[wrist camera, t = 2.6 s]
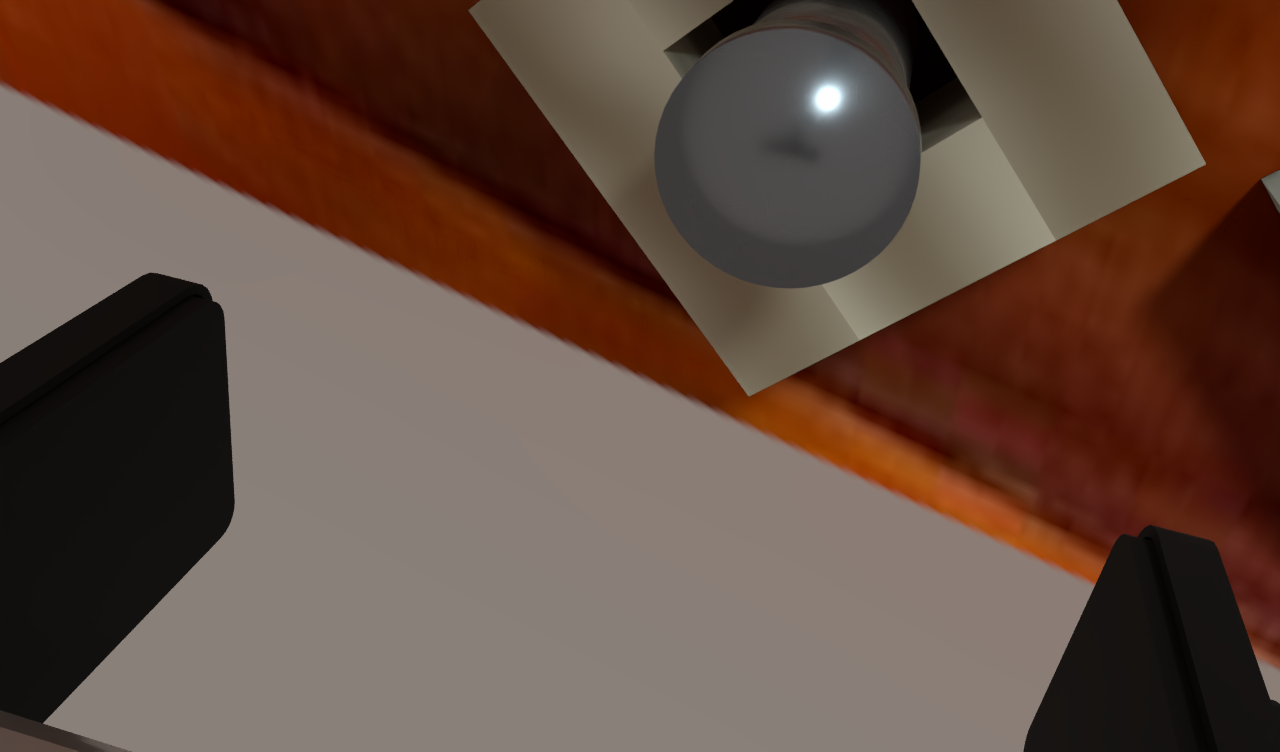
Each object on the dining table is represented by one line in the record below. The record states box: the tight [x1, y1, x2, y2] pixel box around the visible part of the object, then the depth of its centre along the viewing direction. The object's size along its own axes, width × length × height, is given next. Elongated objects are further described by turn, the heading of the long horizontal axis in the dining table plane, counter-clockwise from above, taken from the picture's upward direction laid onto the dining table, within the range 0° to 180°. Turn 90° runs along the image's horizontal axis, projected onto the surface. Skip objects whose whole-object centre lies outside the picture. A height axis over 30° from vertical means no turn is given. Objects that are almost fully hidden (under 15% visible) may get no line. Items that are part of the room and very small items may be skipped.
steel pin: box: [654, 0, 922, 289], centre depth 25 cm, size 5×5×11 cm
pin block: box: [468, 0, 1206, 396], centre depth 27 cm, size 12×12×5 cm
